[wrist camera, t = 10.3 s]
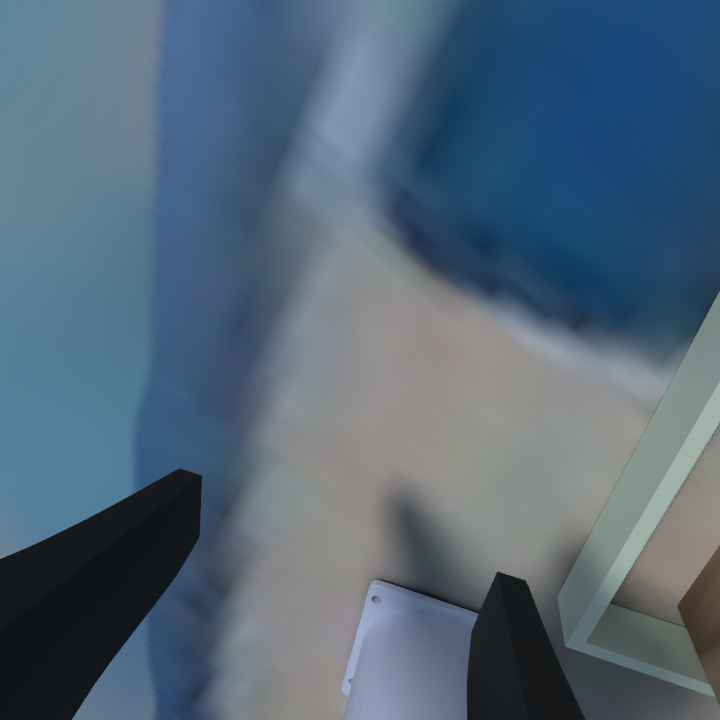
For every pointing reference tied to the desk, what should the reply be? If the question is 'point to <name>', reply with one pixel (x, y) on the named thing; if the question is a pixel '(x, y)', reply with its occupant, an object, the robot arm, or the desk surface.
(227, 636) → the desk surface
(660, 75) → the desk surface
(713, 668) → the plain block
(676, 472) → the bin
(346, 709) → the robot arm
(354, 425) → the desk surface
